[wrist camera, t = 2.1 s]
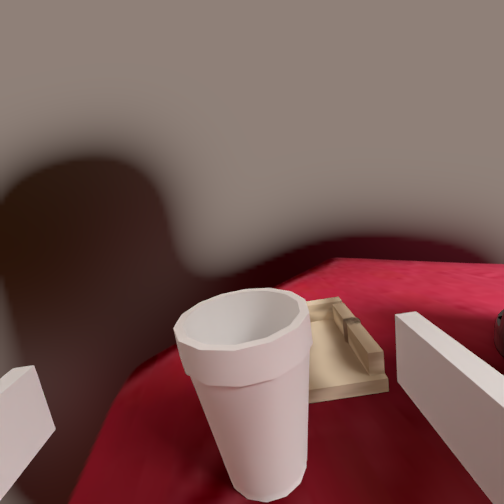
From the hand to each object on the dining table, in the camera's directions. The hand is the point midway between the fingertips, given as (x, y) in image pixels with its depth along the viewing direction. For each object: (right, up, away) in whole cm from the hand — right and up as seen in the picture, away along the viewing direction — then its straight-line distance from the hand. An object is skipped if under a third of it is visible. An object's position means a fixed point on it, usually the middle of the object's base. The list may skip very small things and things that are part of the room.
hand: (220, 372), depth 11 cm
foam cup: (+2, -13, +13) cm, 18 cm away
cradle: (+7, -9, +26) cm, 28 cm away
